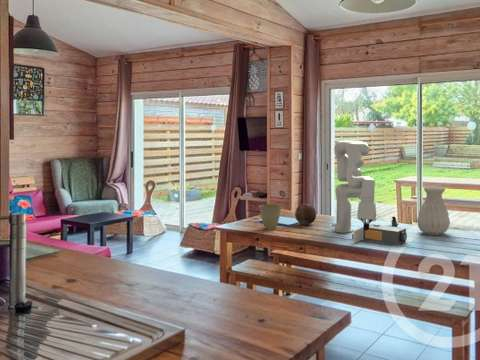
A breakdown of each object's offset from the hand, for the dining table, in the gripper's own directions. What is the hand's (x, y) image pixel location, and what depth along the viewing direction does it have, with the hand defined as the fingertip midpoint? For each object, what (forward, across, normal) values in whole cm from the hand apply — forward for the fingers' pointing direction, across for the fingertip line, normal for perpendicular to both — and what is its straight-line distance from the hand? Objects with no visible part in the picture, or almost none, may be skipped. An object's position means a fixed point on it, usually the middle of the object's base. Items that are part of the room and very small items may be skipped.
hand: (366, 229), depth 288 cm
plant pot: (+11, -69, +13) cm, 71 cm away
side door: (+8, -6, +4) cm, 11 cm away
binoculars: (+10, +6, +38) cm, 39 cm away
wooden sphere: (+11, -53, +39) cm, 67 cm away
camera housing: (+9, +9, +13) cm, 18 cm away
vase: (+10, +31, +49) cm, 59 cm away
